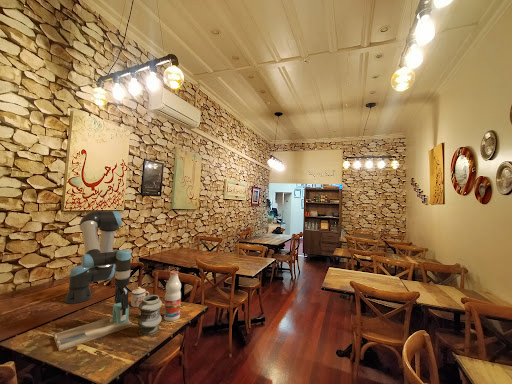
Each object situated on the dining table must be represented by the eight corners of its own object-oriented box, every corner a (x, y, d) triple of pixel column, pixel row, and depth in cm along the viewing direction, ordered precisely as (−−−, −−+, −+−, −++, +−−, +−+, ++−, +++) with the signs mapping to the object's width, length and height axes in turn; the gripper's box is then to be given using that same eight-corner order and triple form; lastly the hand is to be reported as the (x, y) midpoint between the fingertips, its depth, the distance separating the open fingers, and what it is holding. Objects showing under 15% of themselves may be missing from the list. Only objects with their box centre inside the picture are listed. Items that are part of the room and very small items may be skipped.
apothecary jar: (136, 339, 121) (138, 303, 122) (137, 327, 132) (139, 294, 133) (161, 334, 126) (163, 300, 127) (160, 323, 137) (162, 292, 138)
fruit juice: (178, 313, 150) (181, 269, 152) (180, 320, 142) (183, 273, 143) (163, 315, 146) (165, 270, 148) (164, 322, 138) (166, 274, 139)
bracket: (112, 320, 135) (113, 304, 135) (123, 316, 139) (124, 301, 140) (116, 325, 130) (117, 308, 130) (128, 321, 134) (129, 305, 135)
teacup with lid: (134, 308, 154) (135, 290, 155) (128, 304, 160) (129, 287, 161) (151, 303, 164) (152, 286, 164) (145, 299, 169) (146, 282, 170)
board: (53, 337, 120) (54, 327, 120) (122, 316, 143) (122, 308, 143) (58, 351, 109) (59, 340, 110) (131, 326, 133) (132, 317, 133)
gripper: (109, 274, 140) (107, 313, 139) (121, 283, 126) (119, 326, 125) (123, 272, 145) (121, 309, 144) (136, 280, 132) (134, 321, 130)
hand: (120, 317), depth 135 cm, fingers closed on bracket, 8 cm apart
